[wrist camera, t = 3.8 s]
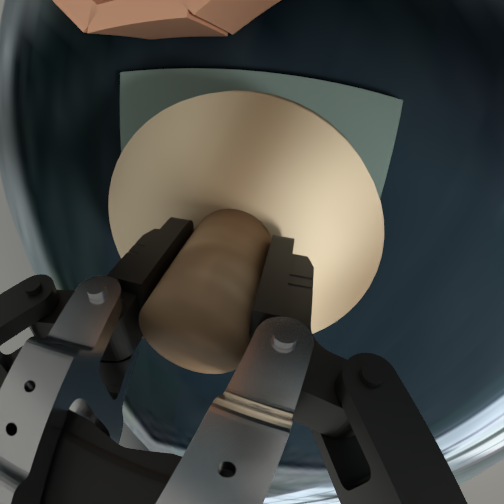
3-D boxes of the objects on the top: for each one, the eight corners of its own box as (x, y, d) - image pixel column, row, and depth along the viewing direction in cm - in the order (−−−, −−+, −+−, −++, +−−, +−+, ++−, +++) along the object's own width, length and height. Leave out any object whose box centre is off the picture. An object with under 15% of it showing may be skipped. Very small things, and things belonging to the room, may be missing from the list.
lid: (409, 122, 8) (500, 178, 3) (337, 339, 14) (334, 444, 9) (117, 89, 9) (-3, 123, 5) (139, 298, 15) (86, 380, 10)
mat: (399, 99, 10) (403, 100, 9) (336, 316, 17) (336, 322, 16) (126, 71, 11) (120, 72, 10) (140, 278, 18) (136, 283, 17)
